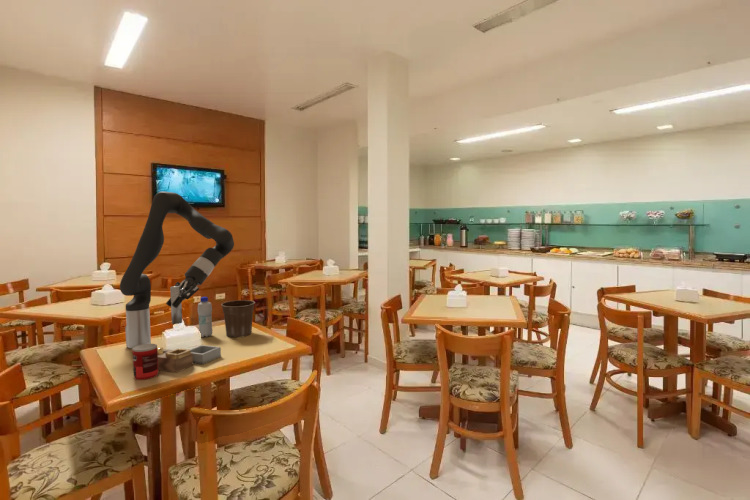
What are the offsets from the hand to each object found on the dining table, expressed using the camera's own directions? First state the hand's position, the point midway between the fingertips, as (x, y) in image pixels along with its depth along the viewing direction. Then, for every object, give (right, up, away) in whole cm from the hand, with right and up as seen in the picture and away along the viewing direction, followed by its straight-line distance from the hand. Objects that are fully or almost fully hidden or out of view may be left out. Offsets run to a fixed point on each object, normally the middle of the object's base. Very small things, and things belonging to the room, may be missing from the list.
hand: (171, 305), depth 147 cm
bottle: (-7, -22, +47) cm, 52 cm away
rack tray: (+6, -24, +13) cm, 28 cm away
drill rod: (+1, -7, +2) cm, 7 cm away
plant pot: (+9, -22, +49) cm, 55 cm away
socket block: (-3, -25, +5) cm, 25 cm away
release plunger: (-8, -23, +6) cm, 25 cm away
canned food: (-7, -25, -5) cm, 27 cm away
